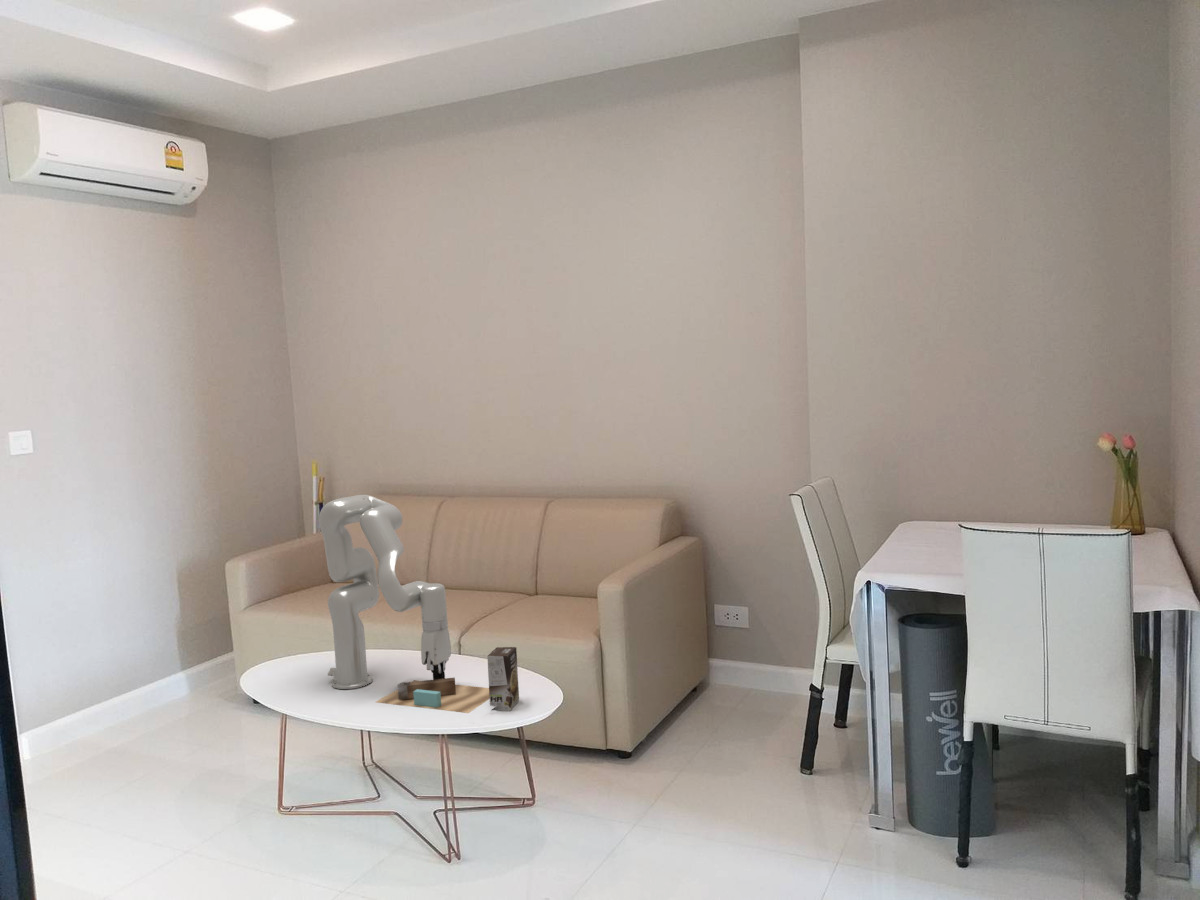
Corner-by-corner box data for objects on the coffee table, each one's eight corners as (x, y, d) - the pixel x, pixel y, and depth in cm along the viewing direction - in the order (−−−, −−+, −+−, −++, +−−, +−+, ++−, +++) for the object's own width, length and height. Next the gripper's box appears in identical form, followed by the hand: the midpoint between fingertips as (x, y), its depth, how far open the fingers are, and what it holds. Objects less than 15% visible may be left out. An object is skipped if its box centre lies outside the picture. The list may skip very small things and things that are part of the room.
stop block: (414, 704, 261) (413, 691, 261) (418, 702, 263) (417, 689, 263) (437, 707, 258) (436, 694, 258) (441, 705, 260) (440, 691, 260)
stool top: (375, 707, 265) (374, 702, 265) (414, 684, 284) (414, 680, 284) (468, 718, 253) (468, 713, 253) (503, 694, 271) (503, 689, 271)
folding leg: (398, 700, 265) (397, 687, 265) (398, 696, 268) (397, 683, 268) (455, 694, 268) (455, 680, 268) (455, 690, 272) (454, 677, 271)
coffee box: (511, 711, 257) (507, 655, 255) (489, 710, 258) (486, 655, 257) (520, 700, 266) (517, 646, 264) (499, 699, 267) (496, 646, 266)
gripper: (437, 618, 279) (441, 676, 281) (410, 631, 266) (415, 692, 267) (458, 619, 277) (462, 677, 278) (432, 632, 263) (436, 693, 264)
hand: (439, 684), depth 272 cm, fingers closed
